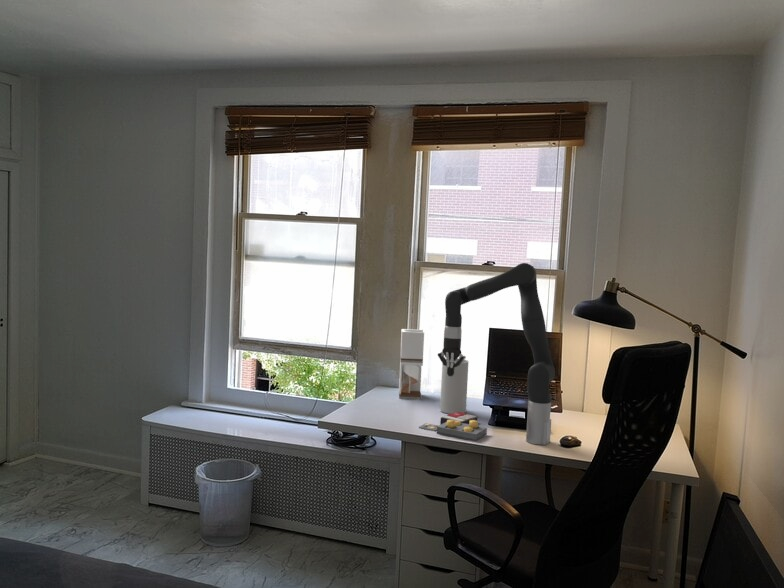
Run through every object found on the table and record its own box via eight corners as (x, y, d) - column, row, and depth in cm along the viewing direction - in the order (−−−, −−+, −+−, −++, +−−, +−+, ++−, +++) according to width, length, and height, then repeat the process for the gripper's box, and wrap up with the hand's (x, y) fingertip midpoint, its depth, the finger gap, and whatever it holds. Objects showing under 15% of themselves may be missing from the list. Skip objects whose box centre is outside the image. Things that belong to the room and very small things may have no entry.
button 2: (461, 428, 283) (461, 421, 283) (458, 430, 280) (458, 423, 280) (454, 426, 285) (454, 420, 285) (450, 428, 282) (450, 421, 282)
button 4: (478, 427, 279) (479, 421, 279) (475, 429, 276) (475, 422, 276) (471, 426, 281) (471, 419, 281) (467, 428, 278) (468, 421, 278)
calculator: (478, 415, 297) (461, 420, 285) (477, 425, 297) (461, 430, 285) (457, 411, 303) (440, 415, 291) (456, 420, 304) (439, 425, 291)
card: (442, 427, 287) (442, 425, 287) (435, 431, 281) (435, 429, 281) (426, 424, 291) (426, 422, 291) (418, 427, 285) (418, 426, 285)
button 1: (456, 427, 278) (456, 420, 278) (452, 429, 275) (453, 422, 275) (448, 426, 280) (449, 419, 280) (445, 427, 277) (445, 420, 277)
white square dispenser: (399, 398, 337) (402, 331, 334) (398, 393, 347) (401, 328, 345) (421, 399, 337) (424, 332, 334) (420, 394, 348) (423, 329, 345)
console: (486, 434, 279) (487, 427, 279) (475, 441, 269) (476, 434, 268) (448, 427, 288) (449, 420, 288) (436, 433, 278) (436, 426, 277)
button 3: (473, 434, 275) (473, 427, 274) (470, 436, 271) (470, 429, 271) (465, 433, 276) (466, 426, 276) (462, 435, 273) (462, 428, 273)
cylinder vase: (470, 414, 312) (473, 362, 310) (447, 415, 307) (449, 363, 305) (458, 407, 324) (460, 357, 322) (435, 408, 319) (438, 358, 317)
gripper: (470, 337, 282) (467, 376, 283) (442, 334, 289) (440, 372, 290) (463, 339, 276) (460, 379, 277) (435, 335, 282) (433, 375, 283)
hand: (450, 375), depth 283 cm, fingers closed
